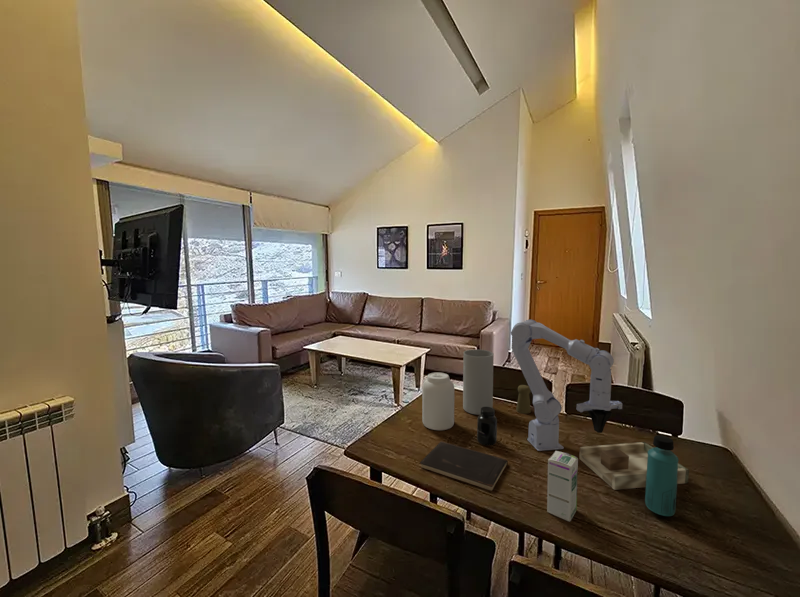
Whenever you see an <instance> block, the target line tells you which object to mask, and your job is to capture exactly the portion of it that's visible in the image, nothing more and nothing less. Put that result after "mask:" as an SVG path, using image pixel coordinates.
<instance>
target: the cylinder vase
mask: <svg viewBox="0 0 800 597" xmlns="http://www.w3.org/2000/svg"><path fill="white" fill-rule="evenodd" d="M494 356H495V355H494V352H492V351H490V350H486V349H467V350H464V351H463V357H462V358H463V361H462V362H463V363H462V364H463V367H462V368H463V369H462V370H463V371H462V372H463V375H462V376H463V377H462V381H463V383H462V387H463V388H462V408H463V410H464V411H465V412H466V413H468V414H472V415H477V416H479V415H480V412H481V408H482V407H491V408H493V409H494V407H493V405H494V404H493V403H494V399H493V398H494V397H493V396H494V395H493V394H494Z"/></svg>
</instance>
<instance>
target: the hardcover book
mask: <svg viewBox="0 0 800 597" xmlns="http://www.w3.org/2000/svg"><path fill="white" fill-rule="evenodd" d="M508 461H509V460H508V459H506V458H502V457H498V456H495V455H491V454H489V453H485V452H481V451H478V450H473V449H470V448H466V447H463V446H460V445H457V444H456V445H455V444H452V443H449V442H447V441H446V442H445V441H443V440H441V441H439V442H438V443H437V445H435V447H433V449H431V451H430V452H429V453H427V455H426V456H425V457H423V459H422V460H421V461H420V462H419V464H420V466H421V468H422V469H425V470H429V471H431V472H434V473H437V474H440V475H443V476H446V477H449V478H452V479H456V480H459V481H462V482H464V483H466V484H467V483H468V484H470V485H473V486H477V487H479V488H482V489H485V490H487V491H493V490H494V488H495V486H496V484H497V483H498V480H499V479H500V476H502V474H503V471H504V470H505V468H506V466H507V465H508Z"/></svg>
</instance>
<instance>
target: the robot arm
mask: <svg viewBox="0 0 800 597" xmlns="http://www.w3.org/2000/svg"><path fill="white" fill-rule="evenodd" d="M510 336H511V351H512V353H513V354H514V355H513V356H514V357H515V359H516V362H517V364H518V365H519V368H520V370H521V373H522V374H523V377H524V379H525V380H526V383H527V386H529V388H530V390H531V392H530V393H532V405H533V408H534V415H535V418H534V419H531V420H529V423H528V434H527V435H528V437H527V439H526V440H527V441H528V442H529V443H530V444H531V445H532V447H534V449H536V450H537V452H538V451H539V452H541V451H542V452H543V451H554V450H555V451H557V450H564V446H563V445H562V444H560V443H559V440H560V439H559V436H560V435H559V434H560V419H559V415H560V413H561V412H562V404H561V403H560V401H559V400H558V399H557V398H556V397H555V396H554V394H553V393H552V392H551V391H550V390H549V389H548V388H547V385H546V383H545V381H544V379H543V377H542V375H541V372H540V370H539V368H538V366H537V364H536V362H535V360H534V358H533V355H532V354H531V351H530V349H529V347H530V345H531V343H532V340H537V339H539V340H541V339H544V340H545V341H548V342H550V343H552V344H554V345H557V346H559V347H560V348H563V349H565V350H566V353H567V355H568V356H571V357H572V358H574V359H576V360H578V361H580V362H581V363H583V364H585V365H588V366H589V368H590V370H591V372H590V381H589V382H590V384H589V400H587V401H584V402H580V403H576V410H577V412H580V413H583V412H588V415H589V416H590V418H591V422H592V427H593V430H594V431H595V432H596V433H597V434H598V433H599V434H601V433H603V431H604V428H605V426H606V423H608V421H609V419H610V418H611V417H612V416H613V413H612V411H611V410H614V409H618V410H623V403H622V401H619V400H611V394H612V393H611V392H612V367H613V365H614V362H615V359H614V356H613V355H612V354H611V353H610V352H609V351H607V350H600V349H599V348H598V347H593V346H591V345H590V344H587V343H585V340H584V339H580V340H579V339H577V338H575V339H570V338H567V337H566V336H564V335H563V334H560V333H558V332H557V331H555V330H553V329H551V328H550V327H548V326H545V324H543V323H541V322H539V321H538V322H537V321H536V320H534V319H531V318H530V319H526V320H524V321H521V322H517V323H515V325H514V326H513V327H512V330H510Z"/></svg>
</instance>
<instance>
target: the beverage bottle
mask: <svg viewBox="0 0 800 597" xmlns="http://www.w3.org/2000/svg"><path fill="white" fill-rule="evenodd" d="M652 444H653V448H652V449H650V450H648V460H647V470H646V471H647V474H646V478H645V479H646V484H645V485H646V487H645V493H644V503H645V506H646V507H647V509H648V510H650V511H651V512H652V513H655V514H656V515H660V516H663V517H672V516H674V515H675V513H676V508H677V492H678V486H679V485H678V484H677V477H678V476H677V471H678V463H679V457H678V456H677V455H676V454H675V453H674V452H673V451H674V447H675V446H674V440H673V438H670V437H668V436H666V435H659V434H657V435H654V437H653V441H652Z"/></svg>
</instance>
